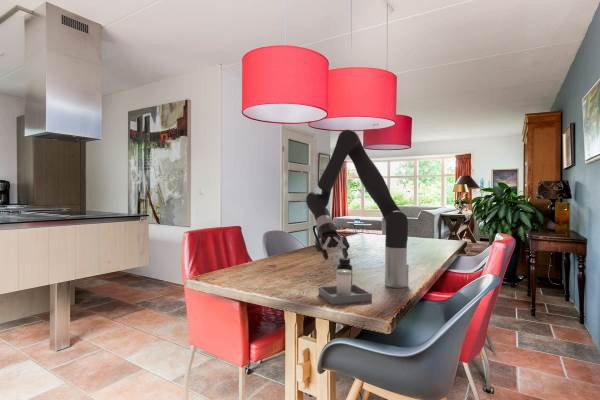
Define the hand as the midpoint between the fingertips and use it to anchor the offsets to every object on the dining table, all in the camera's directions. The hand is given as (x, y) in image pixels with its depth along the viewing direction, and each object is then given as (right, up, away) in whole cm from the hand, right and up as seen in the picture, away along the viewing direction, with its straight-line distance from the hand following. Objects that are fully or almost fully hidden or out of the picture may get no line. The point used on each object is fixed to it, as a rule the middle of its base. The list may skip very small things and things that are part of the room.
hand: (336, 258), depth 141 cm
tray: (+2, -14, -7) cm, 16 cm away
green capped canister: (+2, -14, -7) cm, 16 cm away
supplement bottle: (+5, -14, +11) cm, 19 cm away
